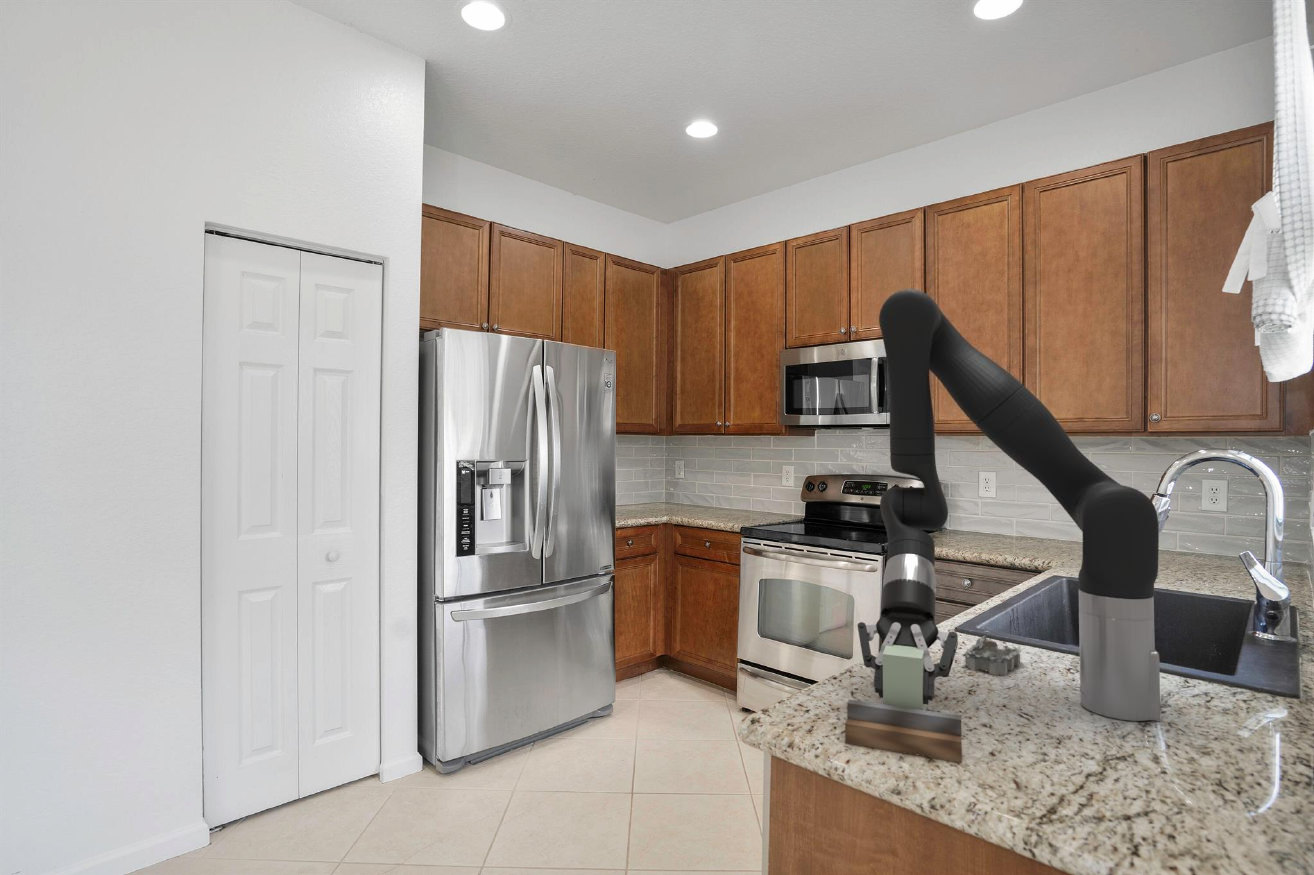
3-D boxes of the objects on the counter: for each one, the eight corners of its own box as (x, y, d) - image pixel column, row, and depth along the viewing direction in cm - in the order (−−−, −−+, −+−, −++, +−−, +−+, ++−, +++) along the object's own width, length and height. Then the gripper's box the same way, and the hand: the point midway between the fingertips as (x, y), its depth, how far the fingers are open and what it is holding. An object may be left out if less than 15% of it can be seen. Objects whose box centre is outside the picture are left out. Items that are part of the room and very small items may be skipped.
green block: (925, 720, 93) (924, 648, 93) (922, 734, 89) (922, 658, 89) (887, 714, 95) (886, 643, 95) (883, 727, 91) (882, 653, 91)
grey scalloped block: (984, 656, 125) (984, 634, 126) (1027, 665, 120) (1027, 642, 120) (958, 668, 118) (958, 645, 119) (1002, 679, 113) (1002, 654, 113)
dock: (961, 729, 92) (961, 696, 92) (961, 762, 82) (961, 725, 83) (856, 713, 98) (856, 682, 98) (845, 742, 88) (844, 708, 88)
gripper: (857, 573, 102) (845, 677, 91) (960, 580, 96) (961, 693, 85) (862, 601, 107) (851, 703, 96) (961, 609, 101) (961, 719, 90)
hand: (903, 697), depth 90 cm, fingers closed on green block, 5 cm apart
